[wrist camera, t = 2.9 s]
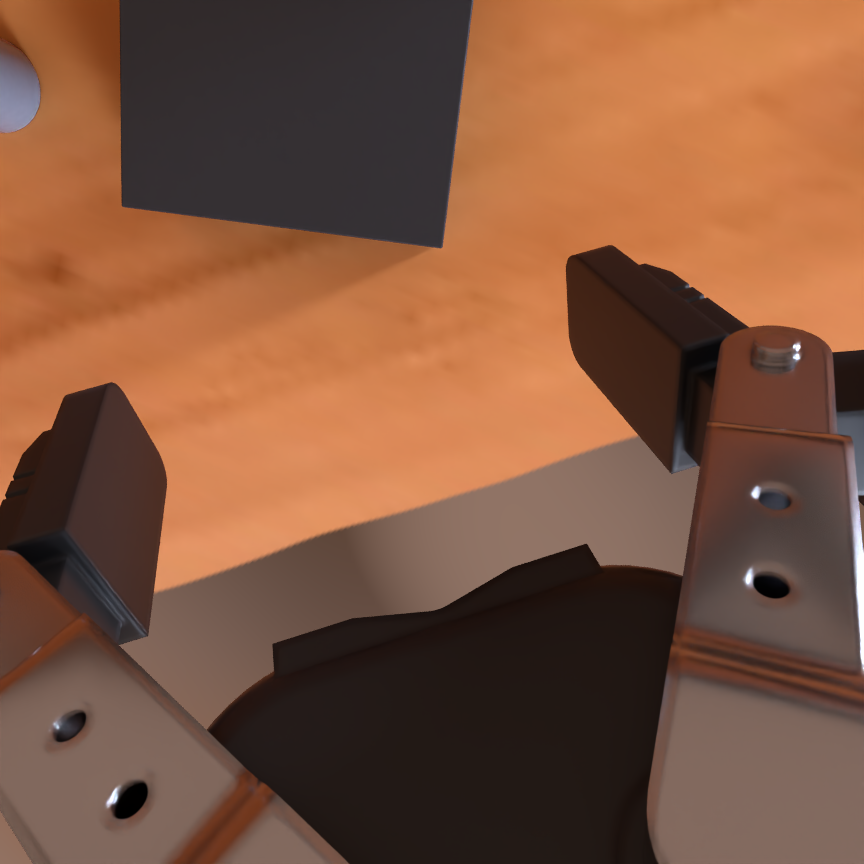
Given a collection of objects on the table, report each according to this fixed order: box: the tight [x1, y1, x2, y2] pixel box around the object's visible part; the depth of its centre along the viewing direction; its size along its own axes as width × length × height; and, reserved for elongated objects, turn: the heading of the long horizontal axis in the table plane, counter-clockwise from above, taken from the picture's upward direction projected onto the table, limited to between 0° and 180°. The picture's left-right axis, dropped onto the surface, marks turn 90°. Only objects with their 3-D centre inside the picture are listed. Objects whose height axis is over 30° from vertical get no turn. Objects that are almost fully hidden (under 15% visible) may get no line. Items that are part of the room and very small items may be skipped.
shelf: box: [120, 0, 473, 248], centre depth 30 cm, size 12×14×7 cm
